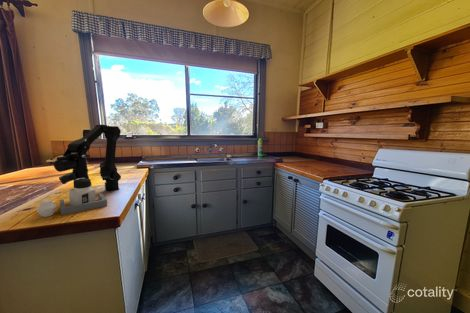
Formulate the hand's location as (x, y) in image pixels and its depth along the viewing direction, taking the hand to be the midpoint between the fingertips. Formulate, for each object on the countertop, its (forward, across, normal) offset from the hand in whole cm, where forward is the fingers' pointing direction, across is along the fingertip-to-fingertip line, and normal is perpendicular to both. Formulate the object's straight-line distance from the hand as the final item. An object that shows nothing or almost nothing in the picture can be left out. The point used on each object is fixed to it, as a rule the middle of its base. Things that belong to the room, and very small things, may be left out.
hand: (83, 195), depth 102 cm
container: (+2, +8, -1) cm, 8 cm away
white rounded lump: (+2, +13, -14) cm, 19 cm away
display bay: (+2, +9, -1) cm, 9 cm away
